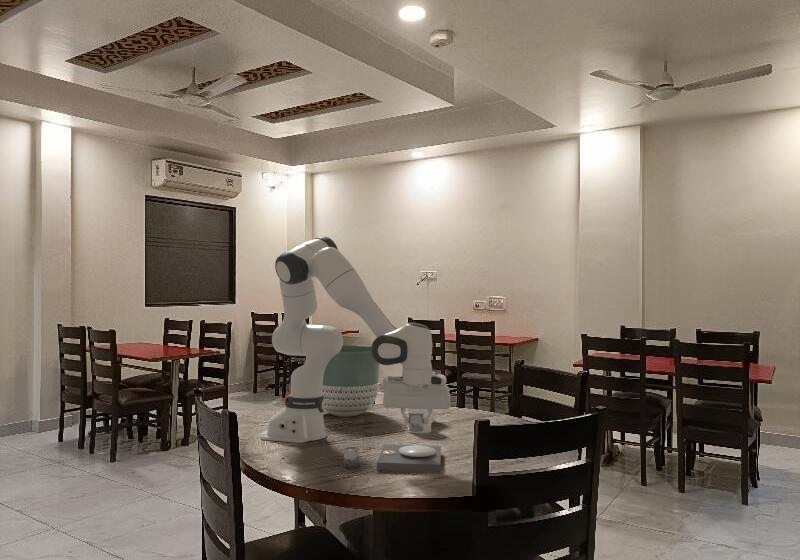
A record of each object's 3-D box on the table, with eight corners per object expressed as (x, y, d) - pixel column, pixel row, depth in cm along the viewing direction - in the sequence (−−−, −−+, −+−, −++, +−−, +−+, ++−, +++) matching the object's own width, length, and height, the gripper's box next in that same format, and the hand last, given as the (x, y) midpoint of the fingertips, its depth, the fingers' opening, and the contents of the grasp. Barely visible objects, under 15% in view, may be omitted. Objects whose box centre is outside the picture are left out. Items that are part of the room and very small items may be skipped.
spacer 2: (408, 431, 185) (408, 414, 185) (409, 428, 190) (409, 411, 190) (423, 432, 185) (423, 415, 185) (423, 428, 189) (424, 412, 189)
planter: (313, 408, 266) (314, 345, 266) (376, 407, 269) (377, 345, 269) (311, 422, 239) (312, 352, 239) (381, 421, 242) (382, 352, 242)
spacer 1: (343, 468, 181) (343, 450, 181) (344, 464, 185) (344, 447, 185) (358, 468, 181) (358, 450, 181) (359, 464, 185) (359, 447, 185)
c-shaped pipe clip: (432, 433, 224) (433, 400, 224) (405, 433, 225) (406, 399, 225) (434, 418, 249) (434, 388, 249) (409, 418, 250) (410, 387, 250)
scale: (377, 471, 178) (377, 458, 178) (384, 452, 198) (384, 440, 198) (440, 473, 177) (440, 460, 177) (440, 454, 197) (440, 442, 197)
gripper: (381, 377, 185) (380, 424, 185) (450, 379, 183) (449, 426, 183) (383, 374, 191) (383, 419, 191) (450, 376, 190) (450, 422, 189)
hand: (416, 423), depth 187 cm, fingers closed on spacer 2, 4 cm apart
